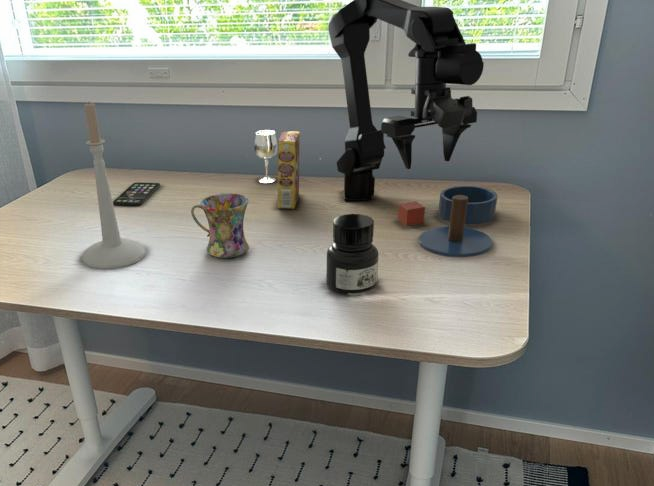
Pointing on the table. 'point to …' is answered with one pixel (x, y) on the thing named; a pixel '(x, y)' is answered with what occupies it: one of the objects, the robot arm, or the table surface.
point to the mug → (224, 224)
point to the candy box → (288, 169)
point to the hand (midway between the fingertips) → (427, 164)
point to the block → (411, 213)
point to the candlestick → (106, 211)
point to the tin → (470, 203)
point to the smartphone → (136, 194)
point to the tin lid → (456, 234)
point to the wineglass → (266, 150)
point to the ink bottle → (352, 255)
